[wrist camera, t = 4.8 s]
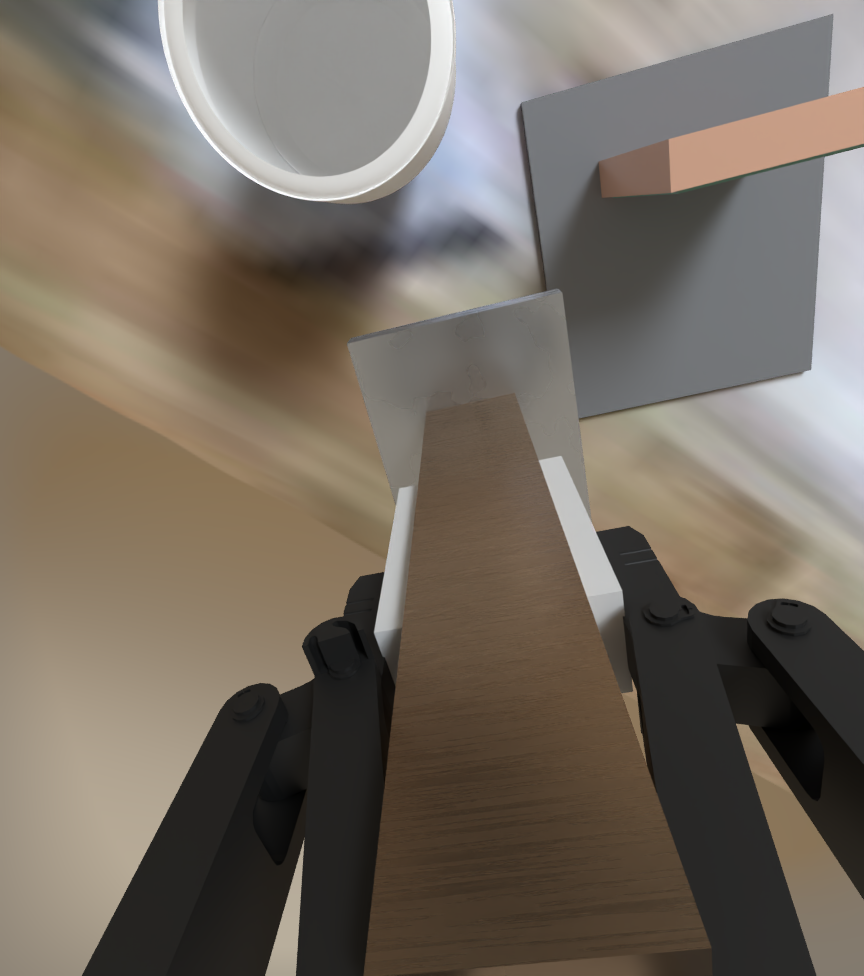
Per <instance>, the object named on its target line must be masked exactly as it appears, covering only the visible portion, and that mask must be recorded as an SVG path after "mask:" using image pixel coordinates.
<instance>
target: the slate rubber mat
mask: <svg viewBox="0 0 864 976" xmlns="http://www.w3.org/2000/svg"><path fill="white" fill-rule="evenodd" d="M832 29H833V14H831V15H828V16H824V17H821V18H817V19H814V20H810V21H807V22H803V23H800V24H796V25H793V26H789V27H786V28H782V29H778V30H775V31H771V32H768V33H764V34H761V35H757V36H754V37H750V38H747V39H743V40H740V41H736V42H733V43H729V44H726V45H722V46H719V47H715V48H712V49H708V50H705V51H701V52H698V53H694V54H691V55H687V56H684V57H680V58H677V59H673V60H670V61H666V62H662V63H659V64H655V65H652V66H648V67H645V68H641V69H638V70H634V71H631V72H627V73H624V74H620V75H617V76H613V77H610V78H606V79H603V80H599V81H596V82H592V83H589V84H585V85H582V86H578V87H575V88H571V89H568V90H564V91H561V92H557V93H553V94H550V95H546V96H543V97H539V98H536V99H532V100H529V101H525V102H522V103H521V109H522V116H523V123H524V131H525V138H526V145H527V152H528V159H529V167H530V174H531V181H532V188H533V195H534V202H535V210H536V217H537V224H538V231H539V238H540V246H541V253H542V260H543V267H544V274H545V282H546V289H547V291H549V290H553V289H559V290H560V291H561V292H562V294H563V302H564V309H565V317H566V325H567V333H568V341H569V348H570V356H571V364H572V372H573V380H574V388H575V395H576V403H577V411H578V419H579V418H583V417H588V416H593V415H598V414H603V413H607V412H612V411H617V410H622V409H626V408H631V407H636V406H641V405H646V404H650V403H655V402H660V401H665V400H669V399H674V398H679V397H684V396H689V395H693V394H698V393H703V392H708V391H712V390H717V389H722V388H727V387H731V386H736V385H741V384H746V383H751V382H755V381H760V380H765V379H770V378H774V377H779V376H784V375H789V374H794V373H798V372H803V371H808V370H811V363H812V347H813V331H814V315H815V299H816V283H817V267H818V252H819V236H820V220H821V204H822V188H823V172H824V157H821V158H817V159H813V160H810V161H806V162H802V163H798V164H794V165H790V166H786V167H782V168H778V169H774V170H770V171H766V172H762V173H758V174H754V175H751V176H747V177H743V178H739V179H735V180H731V181H727V182H723V183H719V184H715V185H711V186H707V187H703V188H699V189H696V190H692V191H688V192H684V193H680V194H670V195H655V196H640V197H625V198H613V197H607V198H602V194H601V183H600V172H599V161H602V160H605V159H608V158H611V157H614V156H617V155H620V154H624V153H627V152H630V151H633V150H636V149H639V148H642V147H645V146H649V145H652V144H655V143H658V142H661V141H664V140H667V139H671V138H675V137H678V136H682V135H686V134H690V133H693V132H697V131H701V130H705V129H708V128H712V127H716V126H720V125H723V124H727V123H731V122H735V121H738V120H742V119H746V118H750V117H753V116H757V115H761V114H765V113H768V112H772V111H776V110H779V109H783V108H787V107H791V106H794V105H798V104H802V103H806V102H809V101H813V100H817V99H821V98H824V97H828V92H829V77H830V61H831V45H832Z"/></svg>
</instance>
